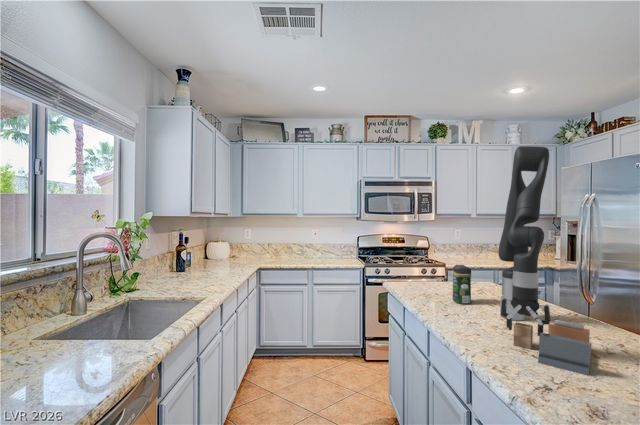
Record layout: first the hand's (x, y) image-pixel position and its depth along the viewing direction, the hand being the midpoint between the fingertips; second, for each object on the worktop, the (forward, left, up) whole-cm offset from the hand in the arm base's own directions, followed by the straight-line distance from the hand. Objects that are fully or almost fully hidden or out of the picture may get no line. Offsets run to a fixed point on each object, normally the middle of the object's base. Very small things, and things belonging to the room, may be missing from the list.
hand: (524, 332), depth 116 cm
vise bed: (+12, 0, -5) cm, 12 cm away
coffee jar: (-34, +43, -5) cm, 55 cm away
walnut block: (0, 0, -5) cm, 5 cm away
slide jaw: (+12, +8, -2) cm, 14 cm away
